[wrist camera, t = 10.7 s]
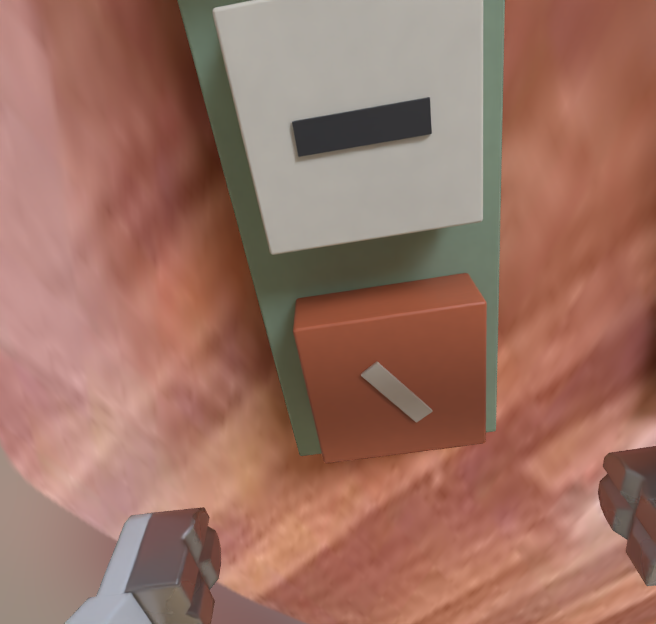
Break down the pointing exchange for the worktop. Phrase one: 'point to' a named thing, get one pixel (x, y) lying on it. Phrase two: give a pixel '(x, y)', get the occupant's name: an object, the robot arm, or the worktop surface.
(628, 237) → the worktop surface
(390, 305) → the brown flat square block
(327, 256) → the green word strip
